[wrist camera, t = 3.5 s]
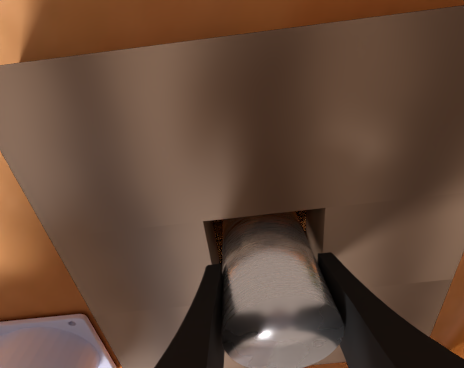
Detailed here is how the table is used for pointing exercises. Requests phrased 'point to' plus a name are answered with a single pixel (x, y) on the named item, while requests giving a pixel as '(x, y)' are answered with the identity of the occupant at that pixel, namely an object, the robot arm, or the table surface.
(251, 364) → the shiny metal cylinder
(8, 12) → the table surface
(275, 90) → the housing block
